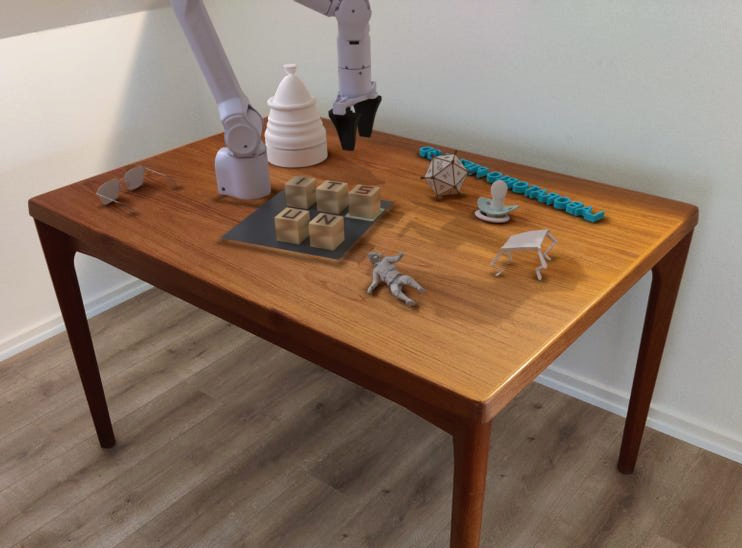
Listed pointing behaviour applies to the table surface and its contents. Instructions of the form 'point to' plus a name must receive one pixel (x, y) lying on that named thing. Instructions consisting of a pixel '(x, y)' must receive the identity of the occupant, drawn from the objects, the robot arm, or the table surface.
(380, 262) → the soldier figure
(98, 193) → the eyeglasses
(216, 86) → the robot arm
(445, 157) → the game die
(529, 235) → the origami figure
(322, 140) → the honey pot
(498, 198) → the pacifier
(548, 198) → the text ornament
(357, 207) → the block
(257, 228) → the letter board
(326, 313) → the table surface
